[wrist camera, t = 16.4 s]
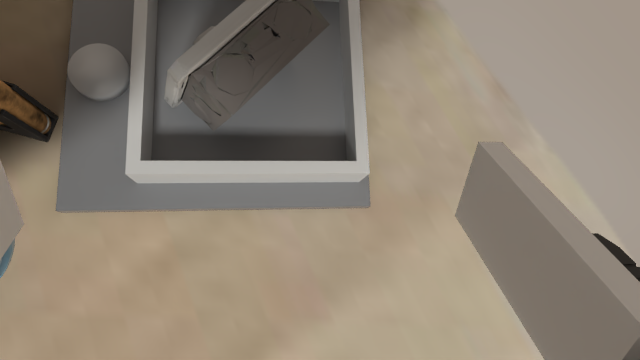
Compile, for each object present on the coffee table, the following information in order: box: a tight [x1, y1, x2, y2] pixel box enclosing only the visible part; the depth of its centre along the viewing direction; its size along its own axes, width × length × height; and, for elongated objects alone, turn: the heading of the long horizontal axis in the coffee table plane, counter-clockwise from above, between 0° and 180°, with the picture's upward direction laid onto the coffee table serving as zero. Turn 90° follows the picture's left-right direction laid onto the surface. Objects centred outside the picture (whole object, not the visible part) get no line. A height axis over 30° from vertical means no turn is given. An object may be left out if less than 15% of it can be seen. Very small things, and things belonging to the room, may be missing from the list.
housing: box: [56, 0, 370, 213], centre depth 29 cm, size 20×18×4 cm
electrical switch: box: [164, 0, 330, 131], centre depth 26 cm, size 9×5×9 cm, turn 138°
